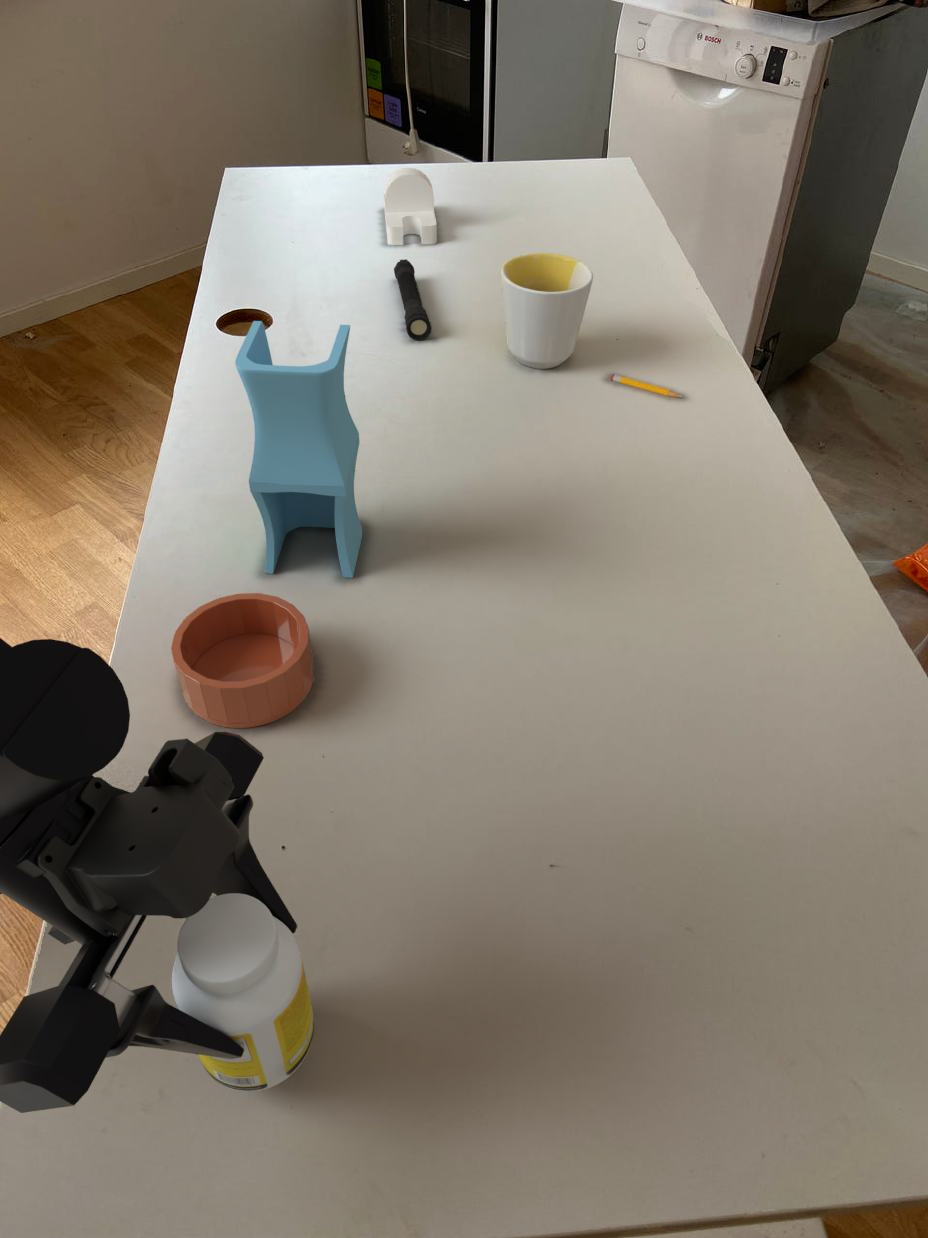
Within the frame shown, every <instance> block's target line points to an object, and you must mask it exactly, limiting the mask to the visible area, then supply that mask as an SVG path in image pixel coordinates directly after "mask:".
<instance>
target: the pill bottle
mask: <svg viewBox="0 0 928 1238" xmlns="http://www.w3.org/2000/svg"><path fill="white" fill-rule="evenodd" d="M180 927H181V928H180V930H179V933H178V937H177V954H176V956H175V960H174V963H173V967H172V972H171V989H172V990H171V991H172V994H173V998H174V1001H175V1005H176V1008H177V1009H179V1010H181V1011H183V1012H185V1013H187V1014H188V1015H190V1016H192V1017H194V1018H196V1019H198V1020H200V1021H202V1022H203V1023H205V1024H207V1025H209V1026H211V1027H213V1028H215V1029H217V1030H218V1031H220V1032H222V1033H224V1034H226V1035H227V1036H228V1037H230V1038H231V1039H232V1040H234V1041H235V1042H236V1043H237V1044H239V1045H240V1046H241V1047H243V1049H244V1053H243V1055H242V1057H241V1058H235V1059H226V1058H219V1057H213V1056H206V1055H199V1054H197V1055H198V1056H197V1057H198V1058H199V1060H200V1062H201V1064H202V1066H203V1068H204V1070H205V1071H206V1072H207V1074H208V1075H209V1076H210V1077H211V1078H212V1079H213V1080H214V1081H216V1082H217V1083H218V1084H220V1085H222V1086H223V1087H225V1088H227V1089H230V1090H233V1091H237V1092H243V1093H244V1092H246V1093H250V1092H252V1093H253V1092H259V1091H264V1090H268V1089H270V1088H274V1087H275V1086H277V1085H279V1084H281V1083H282V1082H284V1081H286V1080H287V1079H288V1078H289V1077H291V1076H292V1075H293V1074H294V1073H295V1072H296V1071H297V1070H298V1068H300V1066H301V1065H302V1063H303V1062H304V1060H305V1058H307V1056H308V1053H309V1051H310V1050H311V1047H312V1043H313V1040H314V1034H315V1017H314V1012H313V1007H312V1001H311V997H310V996H311V995H310V991H309V986H308V982H307V977H306V971H305V968H304V967H305V966H304V961H303V957H302V953H301V949H300V946H299V943H298V941H297V938H296V937H295V935H294V933H293V934H292V932H291V931H290V930H289V928H288V927H287V926H286V925H285V924H283V923H282V922H281V921H280V920H278V919H277V918H275V917H273V916H272V914H271V912H270V911H269V909H268V908H267V907H266V906H265V905H264V904H263V903H262V902H261V901H259V900H258V899H256V898H254V897H251V896H249V895H245V894H239V893H229V894H223V895H219V896H217V895H215V896H213V897H210V899H209V900H208V902H207V903H206V905H205V906H204V907H203V908H202V909H201V910H200V911H199V912H197V913H196V914H194V915H192V916H190V917H187V918H185V920H184V921H183V924H182V926H180Z"/></svg>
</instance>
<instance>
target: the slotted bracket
mask: <svg viewBox="0 0 928 1238" xmlns="http://www.w3.org/2000/svg"><path fill="white" fill-rule="evenodd" d="M383 205H384V218H385V228H386V229H385V230H386V240H387V245H388V246H404V236H407V235H417V236H419V237H420V243H421V246H422V245H423V246H427V245H428V246H429V245H430V246H431V245H435V244H437V242H438V241H437V236H438V234H437V228H438V227H437V219H436V214H435V196H434V189H433V186H432V183H431V181H430V179H429V178H428V176H427V175H426V173H424V172H422V170H420V169H417V168H413V167H405V168H400V169H398V170H396V171H394V172H393V173H392V174H391V175H390V176H389V177H388V179H387V181H386V183H385V186H384V193H383Z"/></svg>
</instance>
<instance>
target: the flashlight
mask: <svg viewBox="0 0 928 1238" xmlns="http://www.w3.org/2000/svg"><path fill="white" fill-rule="evenodd" d="M415 272H416V271H415V268H414V265H413V264H412V263H411V262H410V261H409V260H408V259H407V258H406V259H399V261H397V262H396V264H395V266H394V267H393V273H394V277H395V279H396V280H397V284H398V289H399V293H400V298H401V301H402V304H403V310H404V311H405V313H404V322H405V329H406V333H407V336H408V337H409V338H410V339H411V340H414V341H419V342H420V341H424V340H426V339H427V338H428V337H430V334H431V333H432V328H433V327H432V324H431V321H430V318H429V316H428V312H427V310H426V309H425V308H424V306H423V301H422V298H421V294H420V290H419V287H418V283H417V280H416V276H415Z"/></svg>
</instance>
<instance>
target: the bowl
mask: <svg viewBox="0 0 928 1238" xmlns="http://www.w3.org/2000/svg"><path fill="white" fill-rule="evenodd" d="M310 634H311V633H310V628H309V626H308V622H307V620H306V617H305V616H304V615H303V613H302V612H301V611H300V610H299V609H298V608H297V607H296V606H295V605H294V604H292V603H290V602H289V601H287V600H284V599H283V598H280V597H279V596H275V595H270V594H265V593H260V592H259V593H258V592H251V593H249V592H247V593H235V594H234V593H233V594H230V595H226V596H221V597H217V598H215V599H213V600H211V601H209V602H207V603H205V604H203V605H200V606H198V607H197V608H196V609H195V610H193V611H192V612H191V613H189V614H188V615H187V616H185V618H184V619H183V620H182V621H181V623H180V624H179V626H178V627H177V628H176V629H175V632H174V633H173V638H172V641H171V647H170V650H171V655H172V659H173V663H174V668H175V670H176V674H177V678H178V681H179V686H180V689H181V692H182V695H183V698H184V701H185V703H186V704H187V706H188V707H189V709H190V710H191V711H192V712H193V713H194V714H195V715H196V716H197V717H198V718H201V719H202V720H204V721H205V722H207V723H209V724H213V725H216V726H217V727H218V726H219V727H224V728H232V729H246V728H256V727H259V726H260V727H261V726H263V725H267V724H270V723H272V722H275V721H278V720H280V719H281V718H284V717H285V716H287V715H288V714H290V713H292V711H294V710H295V709H297V708H298V706H299V705H301V704H302V702H304V700H305V699H306V697H307V696H308V694H309V693H310V690H311V689H312V686H313V683H314V677H315V669H314V666H315V663H314V656H313V649H312V641H311V635H310Z"/></svg>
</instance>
